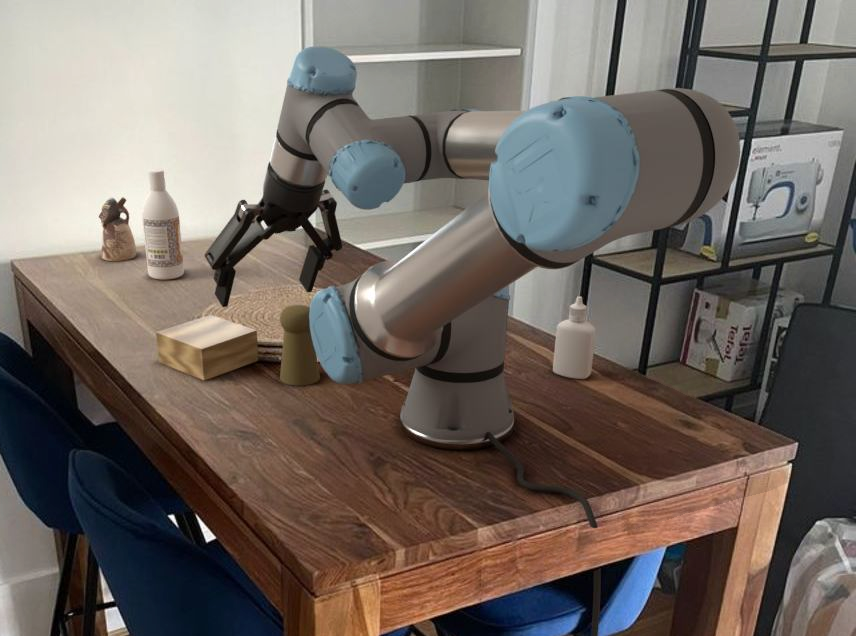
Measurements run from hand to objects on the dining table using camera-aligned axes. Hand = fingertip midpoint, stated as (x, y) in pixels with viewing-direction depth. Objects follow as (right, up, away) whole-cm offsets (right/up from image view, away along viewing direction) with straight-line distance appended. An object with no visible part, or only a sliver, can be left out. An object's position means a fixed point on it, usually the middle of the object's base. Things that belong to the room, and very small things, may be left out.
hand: (264, 293), depth 145 cm
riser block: (-10, -8, +14) cm, 19 cm away
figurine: (-36, +21, +66) cm, 78 cm away
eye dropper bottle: (+46, -11, +9) cm, 48 cm away
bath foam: (-24, +14, +54) cm, 61 cm away
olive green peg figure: (+5, -11, +8) cm, 15 cm away
